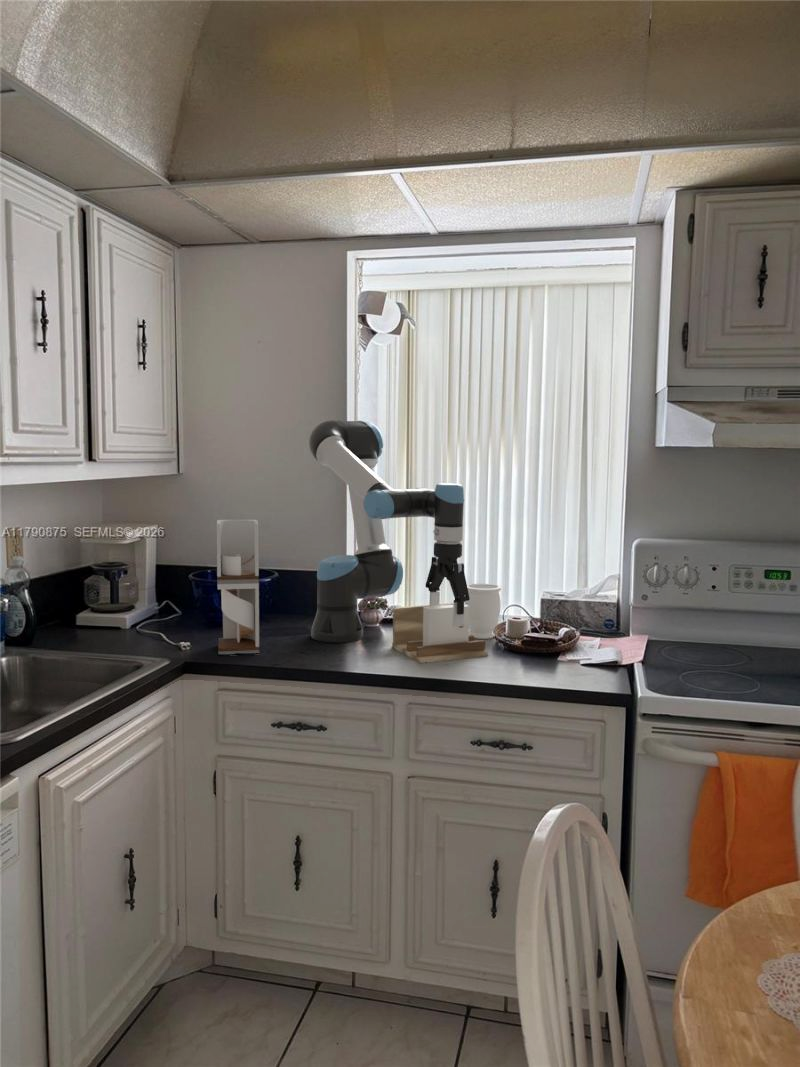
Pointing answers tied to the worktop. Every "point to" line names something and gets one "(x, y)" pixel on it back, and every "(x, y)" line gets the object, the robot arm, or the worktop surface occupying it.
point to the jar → (483, 609)
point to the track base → (411, 639)
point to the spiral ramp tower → (238, 585)
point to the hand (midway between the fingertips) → (445, 620)
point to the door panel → (443, 626)
